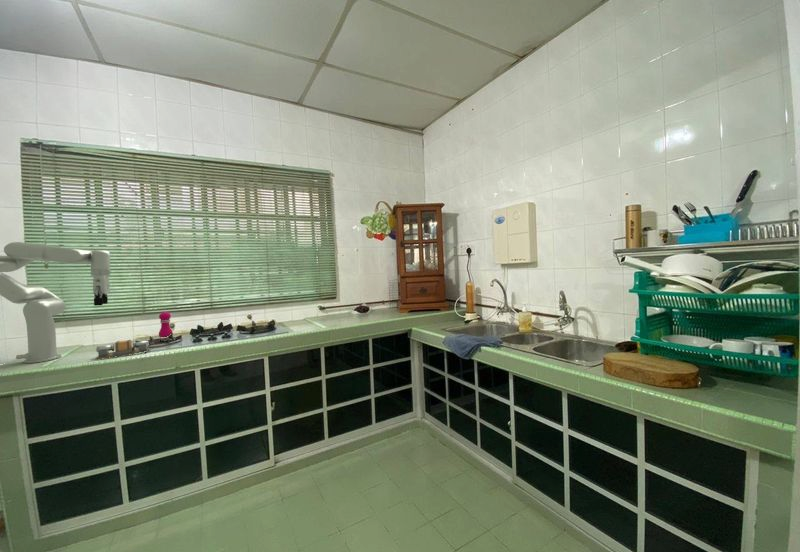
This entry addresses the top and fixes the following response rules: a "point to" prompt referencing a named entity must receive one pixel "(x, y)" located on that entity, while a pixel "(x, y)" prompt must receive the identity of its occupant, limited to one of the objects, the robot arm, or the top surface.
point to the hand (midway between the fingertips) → (101, 304)
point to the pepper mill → (165, 324)
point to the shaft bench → (104, 351)
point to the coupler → (123, 345)
